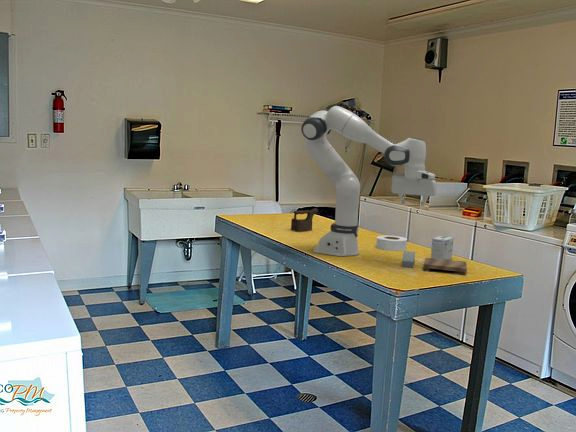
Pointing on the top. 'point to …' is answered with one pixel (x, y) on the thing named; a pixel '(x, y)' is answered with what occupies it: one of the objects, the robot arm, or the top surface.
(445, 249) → the light bulb box
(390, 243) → the roll of tape
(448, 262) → the stand
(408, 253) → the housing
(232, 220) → the top surface
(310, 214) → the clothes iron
